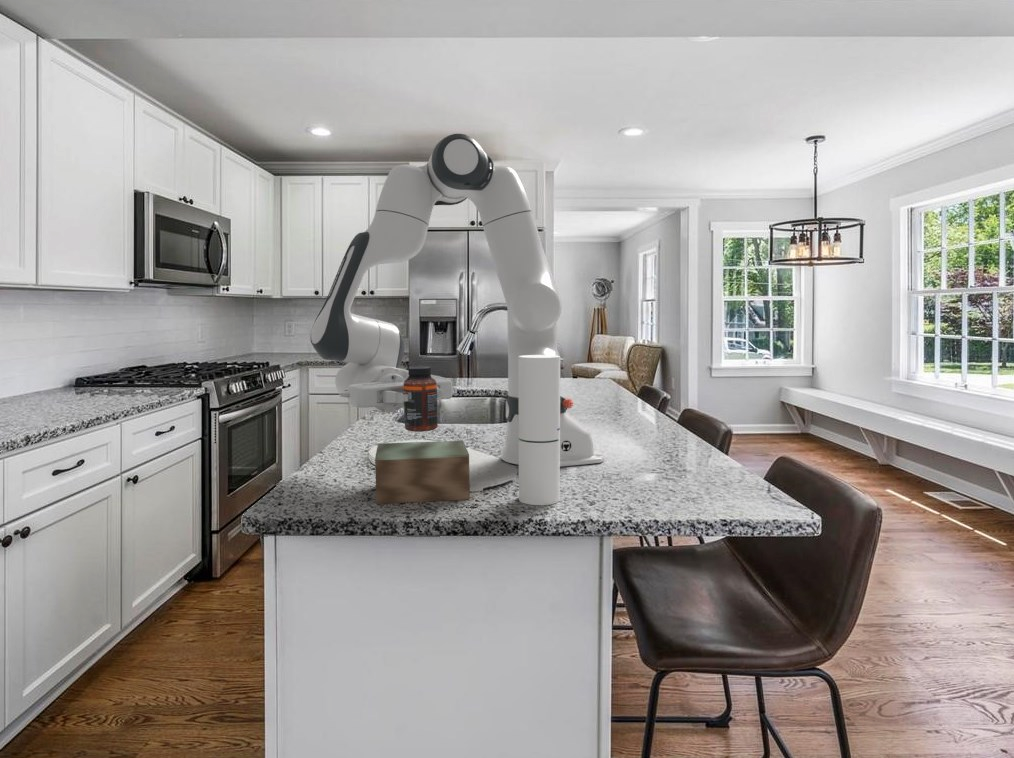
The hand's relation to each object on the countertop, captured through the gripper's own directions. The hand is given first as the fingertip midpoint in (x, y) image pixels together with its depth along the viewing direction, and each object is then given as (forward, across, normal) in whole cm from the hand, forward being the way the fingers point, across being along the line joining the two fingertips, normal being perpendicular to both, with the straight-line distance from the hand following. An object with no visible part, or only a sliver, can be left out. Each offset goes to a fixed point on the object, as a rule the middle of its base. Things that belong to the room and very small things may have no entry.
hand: (423, 396), depth 114 cm
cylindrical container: (+16, +13, +18) cm, 27 cm away
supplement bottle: (-1, 0, +6) cm, 6 cm away
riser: (-1, 0, +18) cm, 18 cm away
